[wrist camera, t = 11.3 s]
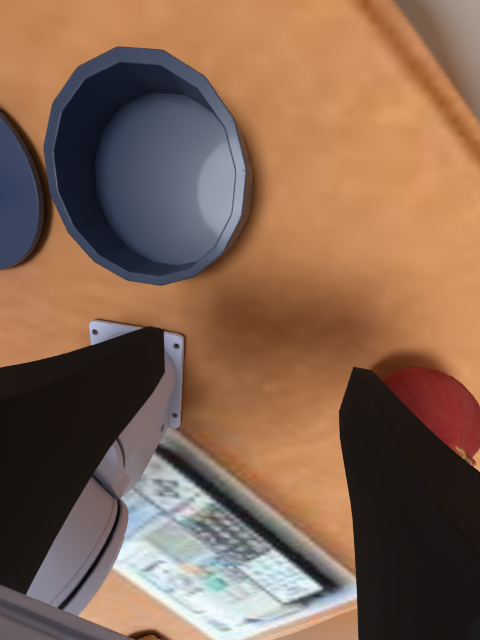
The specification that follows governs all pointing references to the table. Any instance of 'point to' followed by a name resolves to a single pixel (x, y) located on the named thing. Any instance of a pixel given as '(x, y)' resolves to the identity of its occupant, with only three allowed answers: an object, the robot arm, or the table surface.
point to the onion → (440, 407)
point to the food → (149, 638)
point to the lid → (18, 198)
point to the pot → (147, 166)
